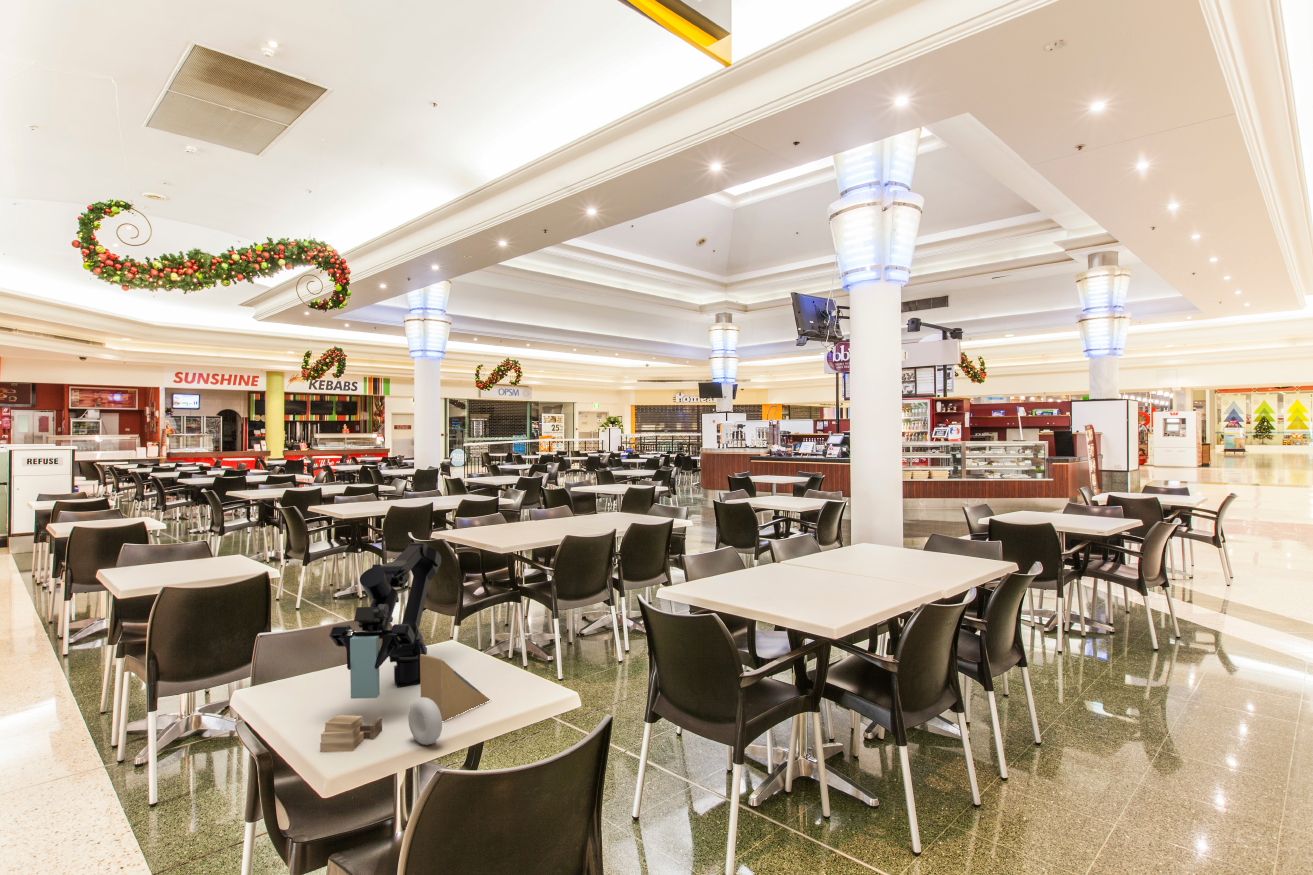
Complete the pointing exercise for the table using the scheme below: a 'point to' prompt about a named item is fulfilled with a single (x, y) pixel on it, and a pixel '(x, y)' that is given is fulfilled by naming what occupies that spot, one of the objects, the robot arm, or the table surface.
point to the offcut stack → (342, 734)
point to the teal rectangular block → (364, 667)
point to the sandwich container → (447, 688)
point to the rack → (372, 729)
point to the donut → (425, 721)
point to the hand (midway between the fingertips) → (362, 668)
